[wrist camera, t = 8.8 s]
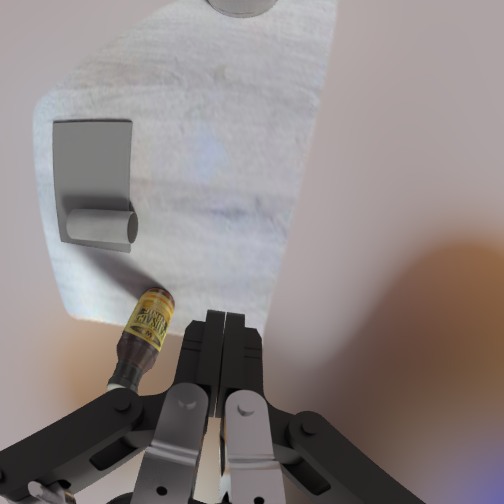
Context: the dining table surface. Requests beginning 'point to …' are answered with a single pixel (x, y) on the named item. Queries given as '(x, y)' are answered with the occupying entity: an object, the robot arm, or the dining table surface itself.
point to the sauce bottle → (142, 338)
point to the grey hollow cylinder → (102, 225)
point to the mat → (91, 172)
